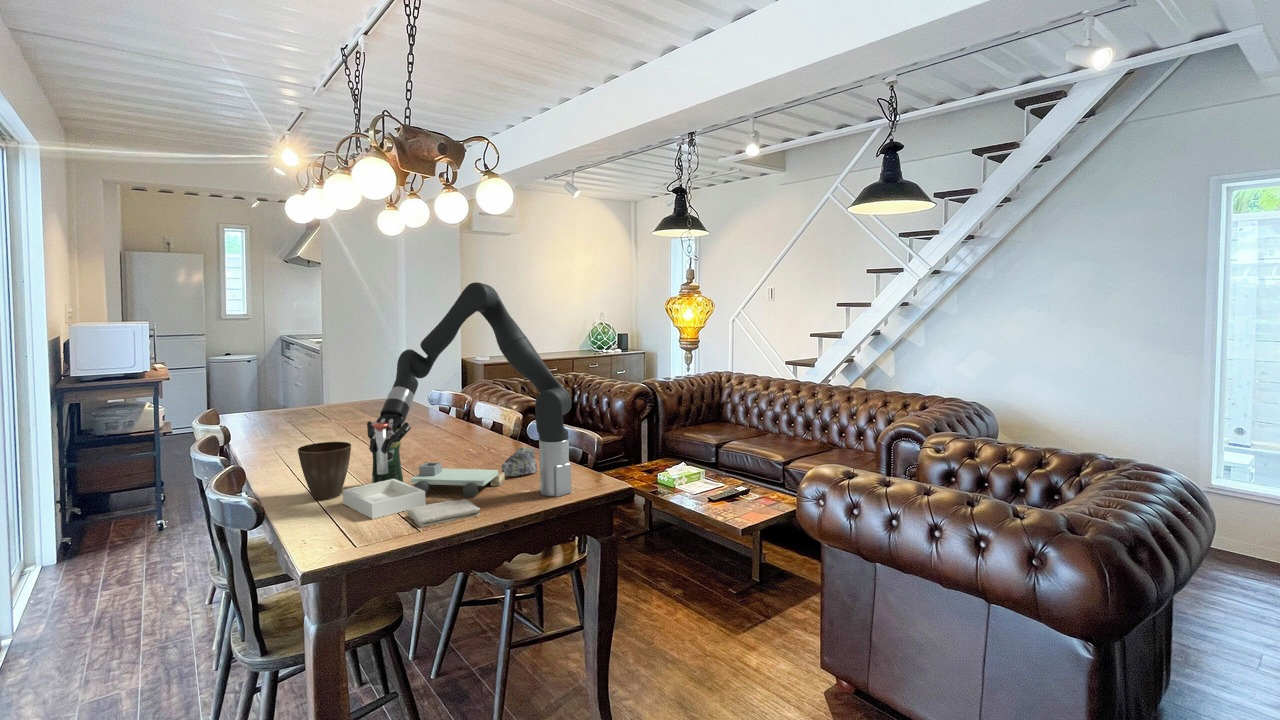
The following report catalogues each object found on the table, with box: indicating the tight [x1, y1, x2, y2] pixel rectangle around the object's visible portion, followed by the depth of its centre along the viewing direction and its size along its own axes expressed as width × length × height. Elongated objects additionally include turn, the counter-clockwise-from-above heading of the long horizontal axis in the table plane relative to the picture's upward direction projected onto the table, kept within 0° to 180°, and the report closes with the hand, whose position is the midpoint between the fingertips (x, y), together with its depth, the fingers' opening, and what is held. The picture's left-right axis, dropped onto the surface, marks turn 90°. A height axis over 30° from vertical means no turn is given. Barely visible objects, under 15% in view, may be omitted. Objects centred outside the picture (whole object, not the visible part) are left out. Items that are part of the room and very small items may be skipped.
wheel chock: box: [490, 471, 506, 487], centre depth 205 cm, size 3×5×3 cm, turn 173°
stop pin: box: [373, 422, 389, 475], centre depth 183 cm, size 4×4×15 cm
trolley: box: [410, 461, 499, 499], centre depth 199 cm, size 24×16×8 cm, turn 83°
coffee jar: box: [369, 429, 404, 484], centre depth 203 cm, size 10×8×19 cm
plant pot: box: [297, 441, 352, 500], centre depth 192 cm, size 15×15×16 cm
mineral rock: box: [500, 446, 538, 477], centre depth 216 cm, size 13×11×10 cm
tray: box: [342, 479, 427, 520], centre depth 184 cm, size 20×16×4 cm
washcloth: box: [406, 498, 481, 528], centre depth 174 cm, size 12×18×3 cm, turn 126°
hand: (378, 451), depth 181 cm, fingers closed on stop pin, 3 cm apart
